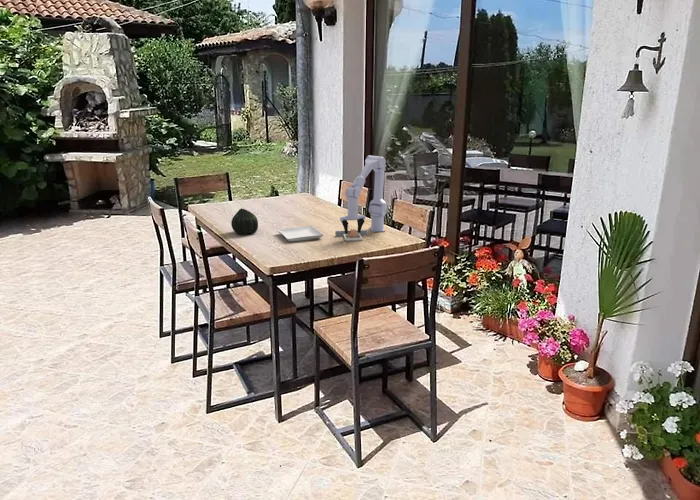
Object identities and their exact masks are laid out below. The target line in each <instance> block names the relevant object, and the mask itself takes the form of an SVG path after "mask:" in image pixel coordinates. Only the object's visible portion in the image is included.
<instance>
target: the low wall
mask: <svg viewBox="0 0 700 500" xmlns="http://www.w3.org/2000/svg"><path fill="white" fill-rule="evenodd" d="M355 230H356V229H355ZM349 231H350V230H348V232H349ZM356 231H357V234H360V235H361V237H362V236H363V237H364V236H365V237H366V236H368V230H367V229H366V230H365V229H364V230H363V229H361V232H360V233H359V232H358V229H357V230H356ZM344 234H346V233H345V230H335V237H343V236H344Z"/></svg>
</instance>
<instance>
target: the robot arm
mask: <svg viewBox="0 0 700 500" xmlns="http://www.w3.org/2000/svg"><path fill="white" fill-rule="evenodd" d="M386 163H387V162H386V159H385V157H384V156H379V155H371V154H369V155H367V156H366V158H365V160H364V167H363V169H362V170H361V172H360V174H359V175H357V176H356V177H355V179H354V180H353V182H352V184H351V185H350V186H348V187H347V188H346V191H345V196H346V201H347V215H346V216H341V217H339V221H340V222H341V224H342V226H343V229H344V230H343V231H345V233H346V234H348V231H349V229H348V227H349V222H348V221H357V230H358V232H359V233H360V232H361V230H362V228H363V226H364V224H365V220H366V216H367V215H365V214H364V215H363V214H362V215H361V214H359V198H360V197H361V193H362V188H363V187H364V185H365V184H366V178H367V177H368V176H369V174H370V173H371V172H372V170H373V172H374V187H373V199H372V200H370V201H369V206H368V213H369V214H370V216H371V217H370V219H371V221H370V226H369V229H370V231H371V232H373V233H374V232H377V233H379V232H386V229H385V222H384V221H385V216H386V214H387V213H388V207H387V204H388V203H387V202H386V200H384V186H385V185H384V183H385V171H386Z"/></svg>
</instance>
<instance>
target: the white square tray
mask: <svg viewBox="0 0 700 500" xmlns="http://www.w3.org/2000/svg"><path fill="white" fill-rule="evenodd" d="M342 238H343V240H344V242H362V241H364V240H363V237H362V236H361V235H360V234H357V236H356V237H355V238H350V237H349V235H348V234H344V236H342Z"/></svg>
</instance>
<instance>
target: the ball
mask: <svg viewBox="0 0 700 500" xmlns="http://www.w3.org/2000/svg"><path fill="white" fill-rule="evenodd" d="M348 231H349V232H348V235H349V237H350V238H355V237H356V236H357V231H356V229H354V228H353V229H350V230H348Z"/></svg>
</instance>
